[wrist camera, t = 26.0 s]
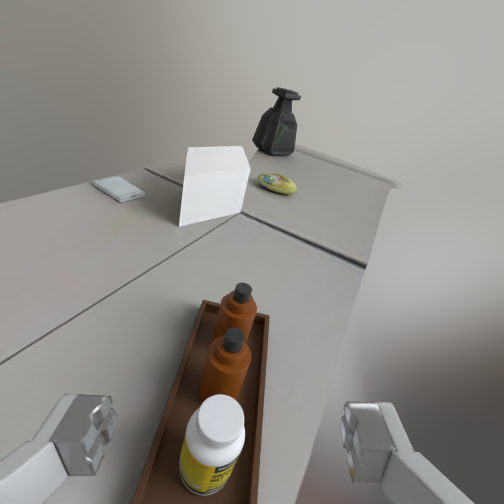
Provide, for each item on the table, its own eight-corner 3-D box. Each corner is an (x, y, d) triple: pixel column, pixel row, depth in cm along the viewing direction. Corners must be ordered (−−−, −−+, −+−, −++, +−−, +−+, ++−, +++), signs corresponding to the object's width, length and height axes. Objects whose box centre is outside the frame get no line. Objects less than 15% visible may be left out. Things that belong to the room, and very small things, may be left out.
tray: (248, 553, 31) (254, 546, 29) (125, 528, 30) (125, 520, 29) (266, 324, 57) (269, 315, 56) (201, 309, 57) (203, 299, 55)
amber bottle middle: (234, 416, 41) (255, 359, 34) (194, 407, 41) (207, 348, 34) (239, 379, 46) (259, 323, 39) (203, 371, 46) (217, 313, 39)
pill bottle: (208, 512, 32) (226, 467, 26) (166, 470, 34) (175, 420, 28) (241, 460, 37) (263, 412, 31) (202, 426, 39) (216, 376, 33)
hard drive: (92, 180, 86) (120, 197, 81) (118, 175, 92) (145, 191, 87) (92, 185, 87) (120, 203, 82) (118, 180, 93) (145, 196, 88)
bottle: (293, 157, 163) (311, 97, 147) (270, 157, 154) (287, 92, 137) (272, 146, 174) (287, 88, 158) (250, 145, 164) (263, 83, 148)
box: (145, 213, 80) (147, 162, 73) (210, 175, 114) (216, 137, 106) (213, 239, 77) (223, 188, 70) (259, 193, 110) (269, 154, 103)
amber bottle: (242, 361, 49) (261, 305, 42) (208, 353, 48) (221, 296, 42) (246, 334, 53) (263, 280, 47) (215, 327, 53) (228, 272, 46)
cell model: (292, 195, 109) (261, 168, 109) (281, 208, 115) (251, 182, 115) (303, 182, 117) (273, 157, 116) (292, 195, 122) (264, 171, 122)
